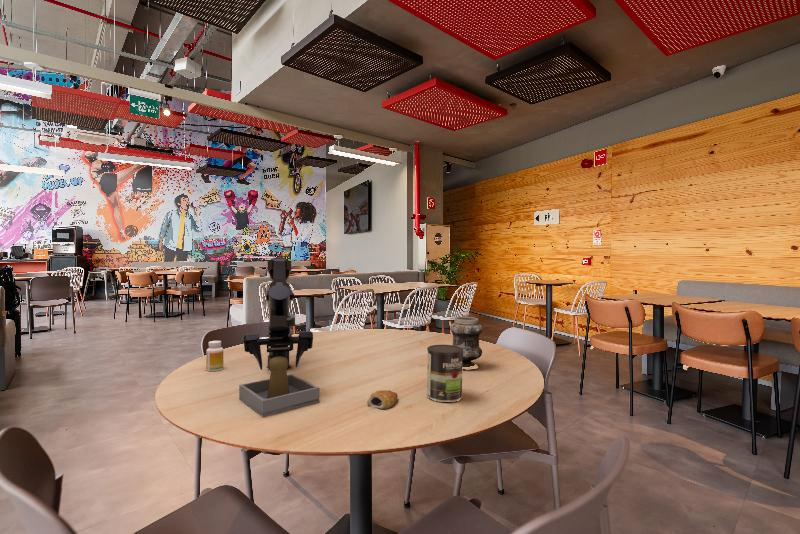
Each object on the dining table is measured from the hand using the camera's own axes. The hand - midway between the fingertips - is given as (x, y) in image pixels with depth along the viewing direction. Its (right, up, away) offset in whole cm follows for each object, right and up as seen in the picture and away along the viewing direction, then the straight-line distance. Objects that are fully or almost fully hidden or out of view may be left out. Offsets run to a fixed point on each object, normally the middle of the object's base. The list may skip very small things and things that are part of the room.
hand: (279, 367), depth 111 cm
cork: (-1, -9, +2) cm, 9 cm away
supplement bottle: (-31, -8, +30) cm, 44 cm away
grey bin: (0, -10, +2) cm, 10 cm away
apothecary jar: (+57, -9, +38) cm, 69 cm away
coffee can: (+46, -10, +7) cm, 47 cm away
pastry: (+28, -10, +1) cm, 30 cm away
